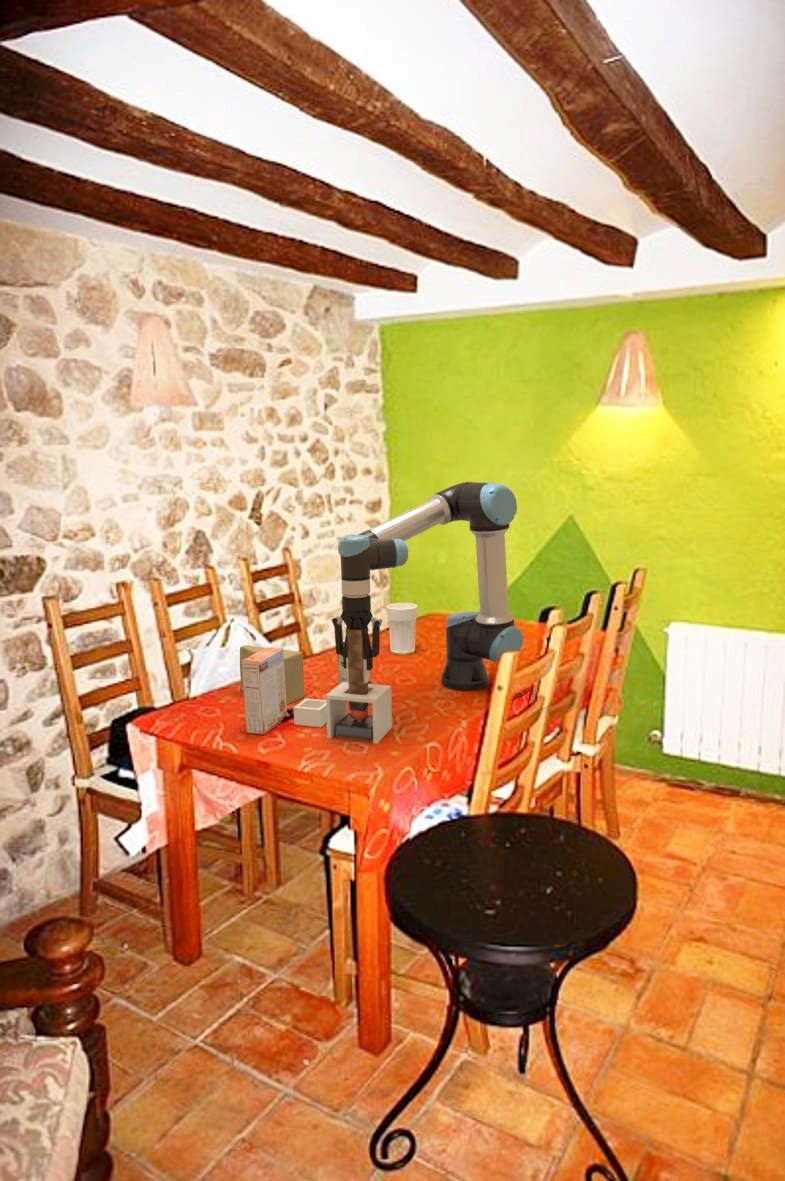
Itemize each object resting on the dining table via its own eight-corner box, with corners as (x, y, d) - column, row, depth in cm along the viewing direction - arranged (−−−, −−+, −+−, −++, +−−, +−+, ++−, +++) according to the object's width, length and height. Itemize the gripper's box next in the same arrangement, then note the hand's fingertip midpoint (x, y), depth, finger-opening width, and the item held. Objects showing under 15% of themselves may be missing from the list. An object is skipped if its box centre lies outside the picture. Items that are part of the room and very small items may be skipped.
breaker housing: (383, 728, 220) (382, 716, 219) (371, 740, 211) (371, 728, 211) (349, 725, 223) (348, 713, 222) (336, 737, 214) (336, 724, 214)
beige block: (231, 694, 252) (228, 648, 249) (252, 686, 260) (250, 641, 257) (285, 706, 240) (283, 657, 237) (306, 697, 248) (304, 650, 245)
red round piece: (370, 726, 218) (370, 705, 217) (364, 732, 214) (364, 711, 213) (355, 725, 220) (354, 704, 219) (348, 730, 215) (348, 709, 214)
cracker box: (269, 716, 231) (265, 646, 227) (288, 718, 229) (284, 647, 225) (244, 733, 218) (240, 659, 214) (264, 736, 216) (260, 661, 212)
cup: (423, 650, 298) (423, 604, 295) (407, 657, 289) (407, 610, 286) (397, 646, 304) (397, 601, 301) (381, 653, 295) (380, 607, 292)
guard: (391, 727, 220) (390, 685, 218) (377, 743, 209) (375, 699, 207) (344, 722, 225) (343, 681, 222) (327, 738, 214) (325, 695, 211)
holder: (332, 717, 229) (331, 700, 228) (320, 727, 222) (320, 710, 221) (306, 715, 232) (305, 698, 231) (294, 724, 224) (293, 707, 223)
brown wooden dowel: (368, 706, 217) (366, 626, 213) (363, 711, 213) (361, 630, 209) (354, 704, 218) (352, 626, 214) (349, 709, 214) (347, 629, 210)
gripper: (391, 593, 211) (393, 679, 215) (331, 590, 216) (334, 674, 220) (382, 599, 204) (384, 687, 208) (320, 596, 209) (323, 682, 213)
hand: (358, 680), depth 214 cm, fingers closed on brown wooden dowel, 4 cm apart
